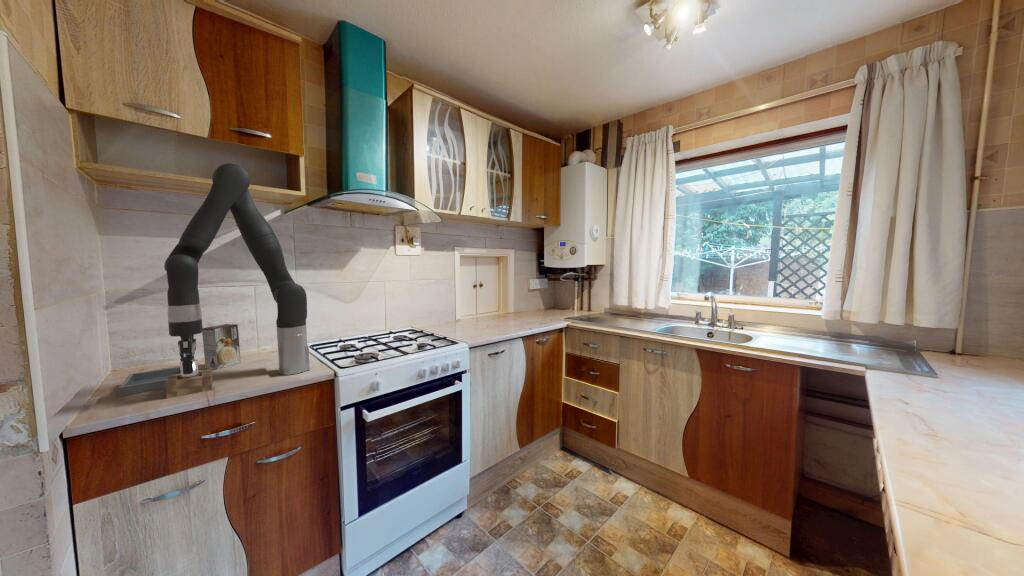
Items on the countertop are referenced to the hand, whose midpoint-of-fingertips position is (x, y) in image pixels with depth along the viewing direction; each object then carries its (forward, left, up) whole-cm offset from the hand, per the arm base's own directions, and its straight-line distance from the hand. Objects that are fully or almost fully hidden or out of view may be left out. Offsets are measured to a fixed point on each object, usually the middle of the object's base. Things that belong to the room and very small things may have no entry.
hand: (189, 370), depth 106 cm
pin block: (0, 0, -7) cm, 7 cm away
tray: (+9, -16, -7) cm, 20 cm away
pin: (0, 0, -6) cm, 6 cm away
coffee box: (-8, -30, -7) cm, 32 cm away
